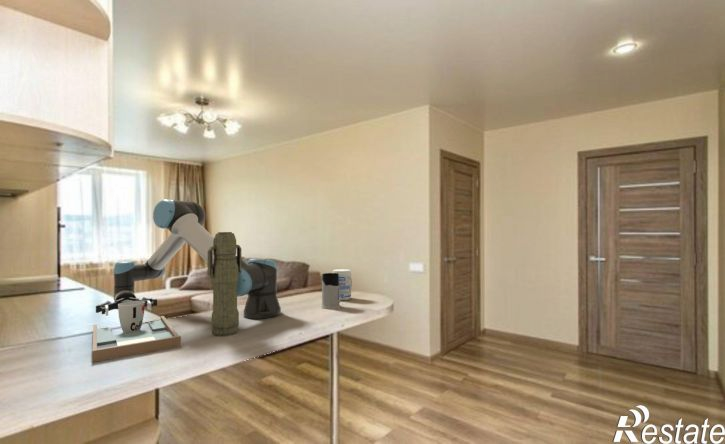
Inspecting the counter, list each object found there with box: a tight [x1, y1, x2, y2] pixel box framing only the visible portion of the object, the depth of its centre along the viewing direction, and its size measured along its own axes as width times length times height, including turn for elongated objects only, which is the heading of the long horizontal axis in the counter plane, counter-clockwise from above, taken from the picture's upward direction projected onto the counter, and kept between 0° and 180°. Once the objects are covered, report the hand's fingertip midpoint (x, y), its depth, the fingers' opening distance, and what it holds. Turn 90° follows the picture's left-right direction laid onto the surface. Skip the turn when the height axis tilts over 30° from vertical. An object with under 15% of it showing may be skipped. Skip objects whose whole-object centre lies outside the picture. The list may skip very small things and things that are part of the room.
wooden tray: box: [91, 315, 182, 363], centre depth 121 cm, size 36×22×3 cm, turn 36°
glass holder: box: [320, 272, 353, 310], centre depth 167 cm, size 9×14×15 cm, turn 93°
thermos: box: [207, 231, 242, 337], centre depth 127 cm, size 9×12×35 cm
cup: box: [117, 301, 145, 334], centre depth 130 cm, size 8×8×10 cm
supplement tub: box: [332, 268, 352, 301], centre depth 185 cm, size 10×10×15 cm
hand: (129, 309), depth 136 cm, fingers open, 13 cm apart
